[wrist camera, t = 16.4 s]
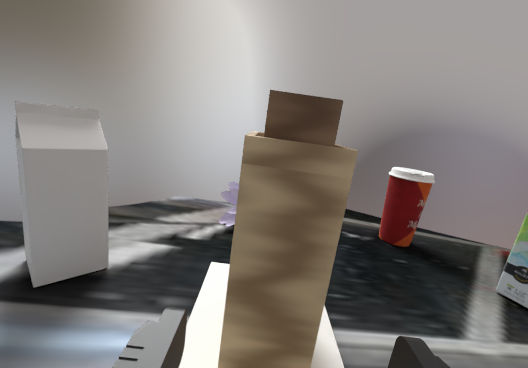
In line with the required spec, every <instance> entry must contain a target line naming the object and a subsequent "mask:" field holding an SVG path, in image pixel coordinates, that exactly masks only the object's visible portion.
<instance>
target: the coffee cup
mask: <svg viewBox="0 0 528 368" xmlns="http://www.w3.org/2000/svg"><path fill="white" fill-rule="evenodd" d="M389 174H390V178H389V184H388V188H387V194H386V199H385V204H384V209H383V215H382V220H381V226H380V232H379V238H380V239H382V240H383V241H385V242H387V243H389V244H392V245H395V246H400V247H408V246H409V245H410V243H411V240H412V238H413V235H414V232H415V230H416V227H417V224H418V222H419V219H420V216H421V214H422V211H423V208H424V205H425V203H426V200H427V197H428V195H429V192H430V189H431V185H432V184H433V183H435V181H434V175H433V174H431V173H428V172H424V171H419V170H414V169H408V168H401V167H393V168H392V170H391V172H389Z"/></svg>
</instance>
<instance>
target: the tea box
mask: <svg viewBox="0 0 528 368" xmlns="http://www.w3.org/2000/svg"><path fill="white" fill-rule="evenodd" d="M496 292H497V293H499V294H502V295H504V296H506V297H508V298H510V299H512V300H513V301H515V302H517V303H519V304H521V305H523V306H524V307H526V308H528V212H527V214H526V216H525V219H524V221H523V223H522V226H521V229H520V231H519V233H518V236H517V238H516V241H515V243H514V245H513V248H512V250H511V252H510V255H509V257H508V260H507V262H506V265H505V267H504V270H503V272H502V275H501V277H500V280H499V283H498V286H497V289H496Z"/></svg>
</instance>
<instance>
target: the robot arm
mask: <svg viewBox="0 0 528 368" xmlns="http://www.w3.org/2000/svg"><path fill="white" fill-rule="evenodd" d="M186 323H187V309H180V308H172V307H166V309H165V310H164V312H163V314H162V316H161V317H160V319H159V321H158V322H155V321H147V322H146V323H145V324H143V325H142V326H141V327H140V328H139V329H137V330H136V331H135V332H134V334H133V336H132V337H131V339H130V340H129V342H128V344H127V346H126V348H124V350H123V352H122V353H121V355H120V356H119V359H118V360H117V361H116V363H115V364H114V366H113V368H179V366H180V363H181V359H182V356H183V351H184V346H185V336H186ZM388 368H450V367H449V366H448V365H447V364H446V363H444V362H443V361H442V360H441V359H440V358H439V357H438V356H434V354H433V353H432V352H431V350H430V349H429V347H428V346H427V345H426V343H425V342H424V341H423V340H422V339H420V338H412V337H404V336H399V337H398V338H397V339H396V342H395V345H394V349H393V352H392V355H391V358H390V362H389V365H388Z"/></svg>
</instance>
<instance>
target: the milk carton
mask: <svg viewBox="0 0 528 368" xmlns="http://www.w3.org/2000/svg"><path fill="white" fill-rule="evenodd" d="M15 107H16V147H17V158H18V170H19V182H20V194H21V205H22V218H23V230H24V242H25V254H26V260H27V264H28V268H29V272H30V276H31V281H32V285H33V287H39V286H43V285H46V284H50V283H54V282H57V281H61V280H65V279H68V278H72V277H76V276H79V275H83V274H87V273H91V272H94V271H98V270H102V269H105V268H108V147H107V144H106V140H105V137H104V134H103V131H102V128H101V124H100V121H99V111H98V110H91V109H82V108H73V107H65V106H56V105H47V104H38V103H29V102H20V101H15Z"/></svg>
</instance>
